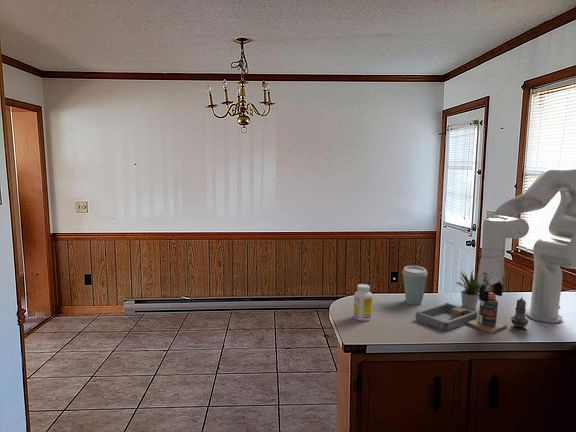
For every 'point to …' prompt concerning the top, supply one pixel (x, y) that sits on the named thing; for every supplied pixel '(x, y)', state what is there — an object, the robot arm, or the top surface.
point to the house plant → (469, 291)
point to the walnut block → (457, 312)
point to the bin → (451, 324)
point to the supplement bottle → (362, 303)
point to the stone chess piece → (519, 316)
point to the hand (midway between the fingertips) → (490, 297)
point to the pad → (488, 329)
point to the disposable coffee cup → (414, 283)
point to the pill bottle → (488, 311)
